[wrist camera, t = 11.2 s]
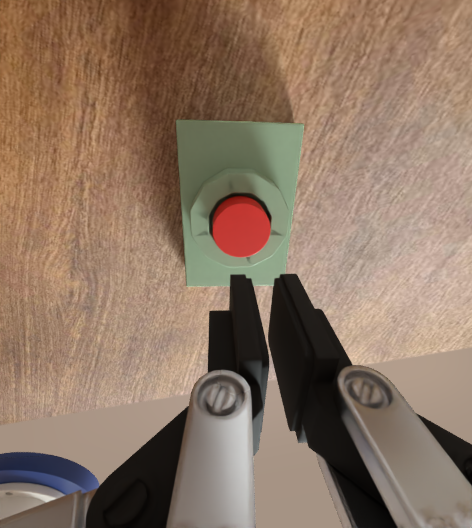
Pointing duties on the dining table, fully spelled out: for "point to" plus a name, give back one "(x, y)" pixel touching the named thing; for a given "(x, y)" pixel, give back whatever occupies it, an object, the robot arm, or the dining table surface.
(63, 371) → the dining table surface
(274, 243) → the button box
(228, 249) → the button
